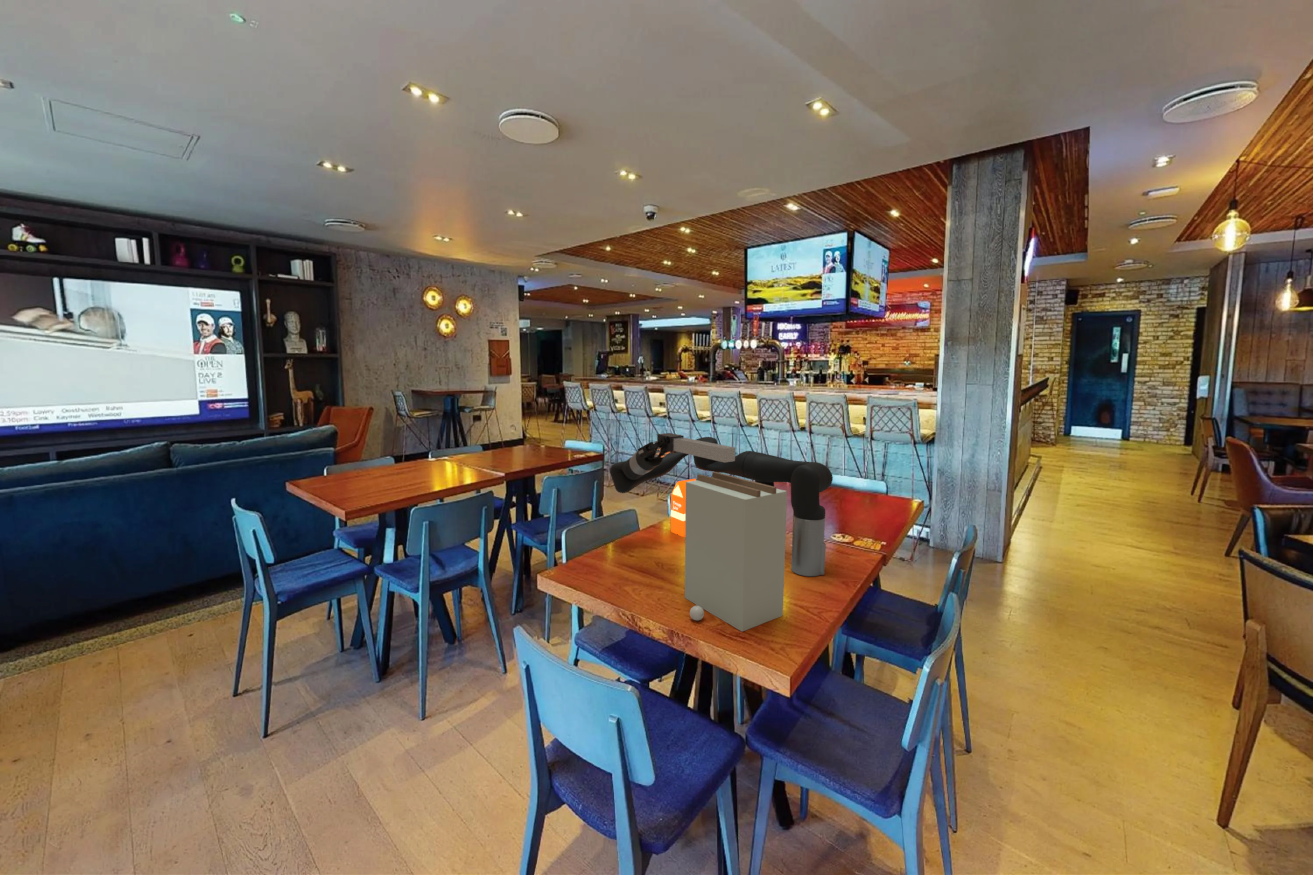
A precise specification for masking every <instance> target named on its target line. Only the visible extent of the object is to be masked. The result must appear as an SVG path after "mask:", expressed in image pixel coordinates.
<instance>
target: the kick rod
mask: <svg viewBox="0 0 1313 875" xmlns="http://www.w3.org/2000/svg"><path fill="white" fill-rule="evenodd" d="M664 436H667V438H668V441H669V443H668V444H666V445H665V446H664V447H662V448H661V449H660V450H664V451H668V452H681V453H686V454H689V455H691V456H693V455H694V456H699V457H703V458H707V459H712V460H716V461H720V462H732V461H735V456H736V447H735V446H729V445H723V444H720V443H718V444H714V443H709V442H704V441H699V440H696V439H693V438H687V437H684V435H682V434H678V433H677V434H676V433H670V432H666V433H665V432H663V433H657V434H656V441H659V440H660V439H661V438H663V437H664Z"/></svg>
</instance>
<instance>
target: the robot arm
mask: <svg viewBox="0 0 1313 875" xmlns="http://www.w3.org/2000/svg"><path fill="white" fill-rule="evenodd" d="M695 440H699V441H704V442H709V443H714V444H719V443H718V439H716V438H715V437H713V436H704V437H700V438H697V439H695ZM668 443H669V441H668V438H667V436H664V437H663V438H661V439H660V440H659V441H657V440H655V441H654V442H653V441H650V442H647V443H646V444H644V445H643V446H641V447H639V448H638V449H637V451H635V452H634V453H633V454H632V456H631V457H629V458H628V459H627V460H624V461H618V462H615V463H613V464H612V465H611V466H610V468H609V474H610V477H611V480H612V482H613V485H614V489H615V491H616V492H617V493H620V494H627V493H628V492H630V491H632V490H633V489H636V487H638V486H640V485H641V484H643V483H646V482H647V481H650V480H653V479H657V478H660V477H663V476H665V475H666V474H668V473H669V472H671V471H672V470H673V469H674V468H676V466H677V465H678V464H679V463H680V462H681V461H682V460H683V459H684V458H686V457H687V456H689V455H690V454H686V453H681V452H668V451H664V450H660V449H661V448H662V447H664V446H665V445H666V444H668ZM692 456H693V462H694V466H695V467H696V468H697V469H699V470H702V471H706V472H718V473H722V474H726V475H731V476H735V477H739V478H743V479H746V480H750V481H755V480H756V481H761V482H774V483H790V503H791V504H790V505H791V508H792V510H793V515H792V540H791V542H792V543H791V563H790V564H791V565H790V566H791V571H792V572H793V573H795V574H796V575H800V576H803V577H804V576H805V577H817V576H824V575H825V569H826V567H825V566H826V564H825V563H826V547H827V546H826V543H825V529H826V528H825V527H826V508H825V507H824V506H823V505H821V504H820V493H823V492H824V491H826V490H827V489H828V488H829V487H831V485H832V483H833V473H832V471H831V470H830V468H829V467H828V466H827V465H825V464H823V463H821V462H818V461H805V460H804V461H803V460H794V459H793V460H792V459H788V458H785V457H781V456H777V455H773V454H767V453H763V452H758V451H752V450H746V451H742V452H740V453H739V454H737V455H735V461H732V462H720V461H716V460H712V459H707V458H703V457H699V456H694V455H692Z"/></svg>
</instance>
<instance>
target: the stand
mask: <svg viewBox="0 0 1313 875" xmlns="http://www.w3.org/2000/svg"><path fill="white" fill-rule="evenodd" d="M711 472H712V471H711ZM711 474H712V476H708V475H705V474H701V473H699V474H696V476H697V477H696V480H695V481H689V482H686V509H685V537H684V541H685V542H684V599H686V600H688V601H689V602H691V603H693V604H694V605H695V606H700V607H702V609H703V610H704V611H706V612H708V613H710V614H711V615H713V616H715V617H716V618H719V619H720V620H722V622H723V621H724V622H725V623H727V624H729V625H730V626H732V627H734V628H735V629H736V630H738V631H740V632H742V633H743V632H744V631H745V632H746V631H747V630H750V629H752V628H755V627H757V626H760V625H763V624H765V623H767V622H771V621H774V620H775V619H777V618H780V617H782V616H783V615H784V614H783V613H784V591H785V590H784V587H785V563H786V560H785V559H786V538H787V537H786V536H787V535H786V534H787V533H786V532H787V504H788V503H787V502H788V491H787V490H784V489H780V488H777V487H776V486H774V487H773V486H769V485H765V484H761V483H757V482H755V481H754V480H750V479H746V478H742V477H738V476H735V475H731V474H727V473H720V472H712V473H711Z"/></svg>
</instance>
